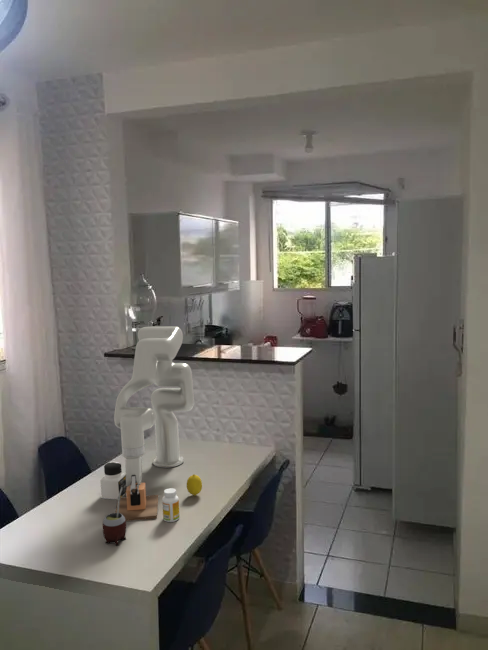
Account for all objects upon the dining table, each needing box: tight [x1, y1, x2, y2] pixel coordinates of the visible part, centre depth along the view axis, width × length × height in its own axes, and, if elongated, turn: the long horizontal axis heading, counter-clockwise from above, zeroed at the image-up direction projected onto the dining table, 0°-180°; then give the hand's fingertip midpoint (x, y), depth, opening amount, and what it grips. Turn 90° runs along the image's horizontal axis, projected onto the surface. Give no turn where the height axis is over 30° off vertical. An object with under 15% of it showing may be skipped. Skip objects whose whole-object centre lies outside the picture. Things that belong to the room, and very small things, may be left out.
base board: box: [114, 494, 159, 522], centre depth 194 cm, size 16×14×1 cm
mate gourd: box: [102, 487, 127, 547], centre depth 172 cm, size 8×8×15 cm
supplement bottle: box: [161, 487, 180, 523], centre depth 186 cm, size 5×5×10 cm
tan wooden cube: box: [125, 482, 147, 511], centre depth 193 cm, size 6×6×7 cm
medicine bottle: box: [99, 461, 127, 500], centre depth 205 cm, size 7×7×12 cm
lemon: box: [186, 474, 203, 497], centre depth 202 cm, size 6×6×8 cm
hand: (136, 499), depth 193 cm, fingers open, 6 cm apart
